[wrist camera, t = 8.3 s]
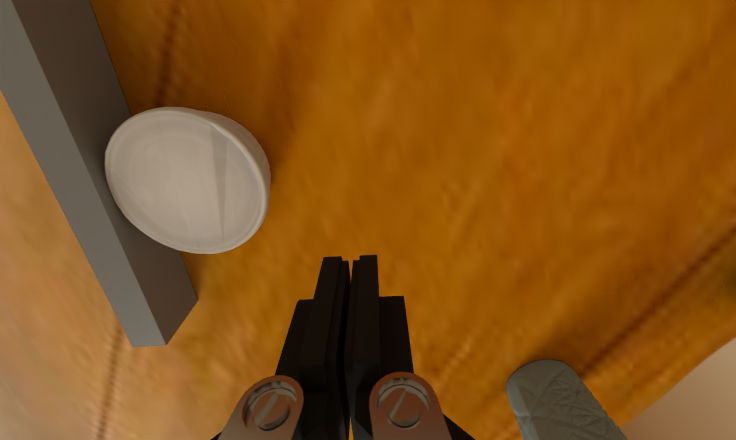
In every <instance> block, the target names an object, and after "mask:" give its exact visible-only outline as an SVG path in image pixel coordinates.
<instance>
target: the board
mask: <svg viewBox="0 0 736 440" xmlns="http://www.w3.org/2000/svg"><path fill="white" fill-rule="evenodd" d="M0 89H1V91H2V93H3V95H4V97H5V99H6V101H7V103H8V105H9V107H10V109H11V111H12V113H13V115H14V117H15V119H16V120H17V122H18V124H19V126H20V128H21V130H22V132H23V134H24V136H25V138H26V140H27V142H28V144H29V146H30V148H31V150H32V152H33V154H34V156H35V158H36V160H37V161H38V163H39V165H40V167H41V169H42V171H43V173H44V175H45V177H46V179H47V181H48V183H49V185H50V187H51V189H52V191H53V193H54V195H55V197H56V199H57V201H58V203H59V204H60V206H61V208H62V210H63V212H64V214H65V216H66V218H67V220H68V222H69V224H70V226H71V228H72V230H73V232H74V234H75V236H76V238H77V240H78V242H79V244H80V245H81V247H82V249H83V251H84V253H85V255H86V257H87V259H88V261H89V263H90V265H91V267H92V269H93V271H94V273H95V275H96V277H97V279H98V281H99V283H100V285H101V287H102V288H103V290H104V292H105V294H106V296H107V298H108V300H109V302H110V304H111V306H112V308H113V310H114V312H115V314H116V316H117V318H118V320H119V322H120V324H121V326H122V328H123V329H124V331H125V333H126V335H127V337H128V339H129V341H130V343H131V345H132V347H146V346H165V345H167V344H168V342H169V341H170V339H171V338H172V337H173V335H174V334H175V332H176V331H177V330H178V328H179V327H180V325H181V324H182V322H183V321H184V320H185V318H186V317H187V315H188V314H189V313H190V311H191V310H192V308H193V307H194V306H195V304H196V303H197V301H198V300H197V297H196V294H195V291H194V288H193V286H192V283H191V280H190V277H189V275H188V272H187V269H186V266H185V264H184V261H183V258H182V255H181V252H180V250H176V249H174V248H171V247H168V246H166V245H164V244H162V243H160V242H158V241H156V240H154V239H152V238H151V237H149V236H147V235H146V234H145V233H144V232H142V231H141V230H139V229H138V228H137V227H136V226H135V225H133V224H132V223H131V222H130V221H129V220H128V219H127V218H126V217H125V216H124V214H123V213H122V211H121V209H120V208H119V207H118V206H117V204H116V202H115V201H114V198H113V196H112V194H111V191H110V189H109V186H108V183H107V179H106V174H105V164H104V163H105V151H106V148H107V146H108V143H109V141H110V138H111V137H112V135H113V134H114V132H115V131H116V129H117V128H118V127H119V126H120V125H121V124H122V123H123V122H125V121H126V120H128V119H129V118H131V114H130V111H129V109H128V106H127V103H126V100H125V98H124V95H123V92H122V89H121V86H120V84H119V81H118V78H117V75H116V73H115V70H114V67H113V64H112V62H111V59H110V56H109V53H108V50H107V48H106V45H105V42H104V39H103V37H102V34H101V31H100V28H99V26H98V23H97V20H96V17H95V15H94V12H93V9H92V6H91V3H90V1H89V0H0Z"/></svg>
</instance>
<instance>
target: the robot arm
mask: <svg viewBox="0 0 736 440" xmlns="http://www.w3.org/2000/svg"><path fill="white" fill-rule="evenodd" d="M350 416H351V424H352V431H353V438H354V440H475V439H474V438H473V437H471V436H470V435H469V434H468V433H466V432H465V431H464V430H463V429H461V428H460V427H459V426H458V425H456V424H455V423H454V422H453V421H451V420H450V419H449V418H448V417H446V416H445V415H444V414H443V413H442V410H441V407H440V405H439V402H438V399H437V396H436V394H435V392H434V390H433V388H432V387H431V386H430V385H429V384H428V383H427V382H426V381H425V380H424V379H423V378H421V377H419V376H418V375H416V374H414V371H413V363H412V355H411V348H410V340H409V332H408V325H407V317H406V309H405V302H404V296H387V297H379V283H378V264H377V255H362V256H360V259H359V260H353V267H352V278H351V280H350V271H349V262H348V261H342V257H341V256H338V257H324V258H323V262H322V266H321V270H320V274H319V278H318V282H317V286H316V290H315V294H314V298H313V299H308V300H299V301H298V302H297V305H296V308H295V311H294V314H293V318H292V321H291V324H290V327H289V331H288V334H287V337H286V340H285V344H284V347H283V350H282V353H281V357H280V360H279V363H278V366H277V369H276V373H275V376H271V377H267V378H264V379H262V380H260V381H258V382H257V383H255V384H253V385H252V386H251V387H250V388H249V389H248V390H247V391H246V392H245V393H244V394H243V396H242V397H241V399H240V400H239V402H238V403H237V405H236V407H235V409H234V411H233V413H232V415H231V416H230V418H229V420H228V422H227V424H226V426H225V427H224V429H223V431H222V432H220V433H219V434H218V435H216V436H215V437H214V438H212V439H211V440H349V427H350Z"/></svg>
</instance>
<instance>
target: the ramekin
mask: <svg viewBox="0 0 736 440" xmlns="http://www.w3.org/2000/svg"><path fill="white" fill-rule="evenodd" d="M104 164H105V174H106V179H107V183H108V186H109V189H110V191H111V194H112V196H113V198H114V201H115V202H116V204H117V206H118V207H119V208H120V209H121V211H122V213H123V214H124V216H125V217H126V218H127V219H128V220H129V221H130V222H131V223H132V224H133V225H135V226H136V227H137V228H138V229H139V230H141V231H142V232H144V233H145V234H146V235H147V236H149V237H151V238H152V239H154V240H156V241H158V242H160V243H162V244H164V245H166V246H168V247H171V248H174V249H176V250H180V251H185V252H190V253H197V254H216V253H221V252H225V251H228V250H231V249H233V248H236V247H238V246H240V245H241V244H243V243H245V242H246V241H247V240H249V239H250V238H251V237H252V236H253V235H254V234H255V232H256V231H257V230H258V229H259V227H260V226H261V224H262V222H263V220H264V218H265V216H266V213H267V210H268V206H269V198H270V184H271V172H270V165H269V163H268V159H267V157H266V155H265V152H264V151H263V149H262V147H261V145H260V144H259V143H258V142H257V140H256V138H255V137H254V136H253V135H252V134H251V132H249V131H248V130H247V129H246V128H245V127H244V126H242V125H240V124H239V123H238V122H236V121H234V120H232V119H230V118H228V117H225V116H223V115H221V114H216V113H213V112H207V111H199V110H195V109H190V108H185V107H160V108H154V109H151V110H147V111H144V112H141V113H139V114H136V115H134V116H133V117H131V118H129V119H128V120H126V121H125V122H123V123H122V124H121V125H120V126H119V127H118V128H117V129H116V131H115V132H114V134H113V135H112V137H111V138H110V141H109V143H108V146H107V148H106V151H105V163H104Z"/></svg>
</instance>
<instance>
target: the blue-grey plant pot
mask: <svg viewBox="0 0 736 440" xmlns="http://www.w3.org/2000/svg"><path fill="white" fill-rule="evenodd" d="M506 391H507V396H508V399H509V401H510V404H511V407H512V410H513V411H514V412H515V415H516V421H517V423H518V426H519V429H520V432H521V434H522V438H523V440H627V438H626V436H625V435H624V434H623V433H622V432H621V430H620V429H619V427H618V426H616V425H615V423H614V421H613V420H612V419H611V418H609V417H608V415H607V413H606V411H604V410H603V409H602V407H601V405H600V404H599V402H598V401H597V400H596V399H595V398H594V396H593V395H592V393H591V392H590V391H589V390H588V389H587V387H586V386H585V384H584V383H583V382H582V380H581V379H580V378H579V376H578V375H577V374H576V372H575V371H574V370H573V369H572V368H571V367H570V366H568V365H567V364H566V363H563V362H561V361H558V360H539V361H535V362H531V363H529V364H527V365H524V366H523V367H521V368H519V369H518V370H517V371H515V372H514V373H513V374H512V376H511V377H510V378H509V380H508V382H507V386H506Z"/></svg>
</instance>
